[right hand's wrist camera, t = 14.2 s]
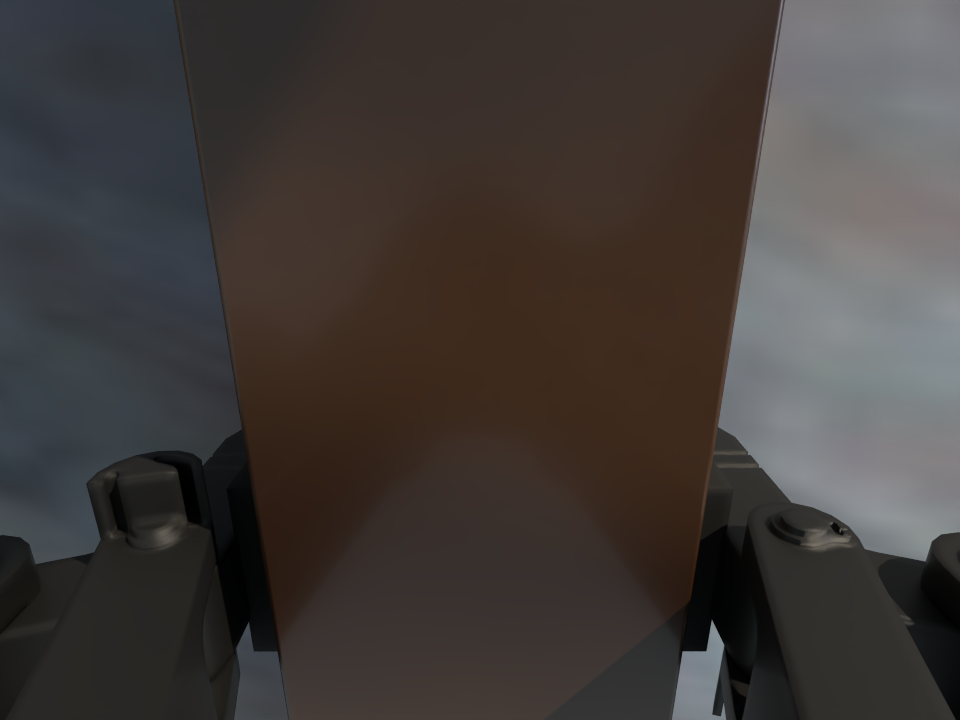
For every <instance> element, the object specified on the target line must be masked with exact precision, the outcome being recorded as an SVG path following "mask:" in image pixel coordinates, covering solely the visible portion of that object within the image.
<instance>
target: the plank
mask: <svg viewBox="0 0 960 720" xmlns="http://www.w3.org/2000/svg"><path fill="white" fill-rule="evenodd" d="M784 2H785V0H174V7H175V13H176V19H177V25H178V32H179V38H180V44H181V50H182V57H183V63H184V69H185V75H186V82H187V88H188V94H189V100H190V107H191V113H192V119H193V125H194V132H195V138H196V144H197V150H198V157H199V163H200V169H201V175H202V182H203V188H204V194H205V200H206V207H207V213H208V219H209V225H210V232H211V238H212V244H213V250H214V257H215V263H216V269H217V275H218V281H219V288H220V294H221V300H222V306H223V313H224V319H225V325H226V331H227V338H228V344H229V350H230V356H231V363H232V369H233V375H234V381H235V388H236V394H237V400H238V406H239V413H240V419H241V425H242V431H243V438H244V444H245V450H246V456H247V463H248V469H249V475H250V481H251V488H252V494H253V500H254V506H255V513H256V519H257V525H258V531H259V538H260V544H261V550H262V556H263V563H264V569H265V575H266V581H267V588H268V594H269V600H270V606H271V613H272V619H273V625H274V631H275V638H276V644H277V650H278V656H279V663H280V669H281V675H282V681H283V688H284V694H285V700H286V706H287V713H288V719H289V720H672V714H673V708H674V702H675V695H676V689H677V683H678V676H679V670H680V664H681V657H682V651H683V645H684V638H685V632H686V625H687V619H688V613H689V606H690V600H691V594H692V587H693V581H694V575H695V568H696V562H697V555H698V549H699V543H700V536H701V530H702V524H703V517H704V511H705V505H706V498H707V492H708V486H709V479H710V473H711V466H712V460H713V454H714V447H715V441H716V435H717V428H718V422H719V416H720V409H721V403H722V397H723V390H724V384H725V377H726V371H727V365H728V358H729V352H730V346H731V339H732V333H733V327H734V320H735V314H736V308H737V301H738V295H739V288H740V282H741V276H742V269H743V263H744V257H745V250H746V244H747V238H748V231H749V225H750V218H751V212H752V206H753V199H754V193H755V187H756V180H757V174H758V168H759V161H760V155H761V149H762V142H763V136H764V129H765V123H766V117H767V110H768V104H769V98H770V91H771V85H772V79H773V72H774V66H775V60H776V53H777V47H778V40H779V34H780V28H781V21H782V15H783V9H784Z"/></svg>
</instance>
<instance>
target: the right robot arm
mask: <svg viewBox="0 0 960 720" xmlns="http://www.w3.org/2000/svg"><path fill="white" fill-rule="evenodd" d="M86 484H87V488H88V492H89V496H90V499H91V503H92V507H93V511H94V514H95V518H96V522H97V526H98V530H99V533H100V537H101V541H100V543H99V544H98V546H97V548H96V550H95V552H94V553H90V554H86V555H81V556H76V557H71V558H66V559H61V560H56V561H50V562H45V563H40V564H35V561H34V558H33V555H32V552H31V548H30V545H29V544H28V543H27V542H25V541H24V540H23V539H21V538H20V537H13V536H5V535H0V720H234V715H235V708H236V701H237V694H238V686H239V679H240V669H239V661H238V656H237V650H236V647H237V645H238V643H239V641H240V639H241V637H242V635H243V633H244V630H245V628H246V626H247V624H248V622H249V625H250V631H251V637H252V643H253V648H254V651H278V650H277V644H276V638H275V631H274V625H273V619H272V613H271V606H270V600H269V594H268V588H267V581H266V575H265V569H264V563H263V556H262V550H261V544H260V538H259V531H258V525H257V519H256V513H255V506H254V500H253V494H252V488H251V481H250V475H249V469H248V463H247V456H246V450H245V444H244V438H243V431H242V430H240V431H239V432H237V433H235V434H234V435H232V436H230V437H229V438H227V439H226V440H225V441H224V442H223V443H222V444H221V445H220V447H219V448H218V449H217V450H216V451H215V452H214V454H213V457H210V458H209V459H208V461H207V462H206V463H205V464H204V465H202V460H201V459H199V458H198V457H197V456H195V455H194V454H192V453H187V452H182V451H157V452H151V453H146V454H141V455H136V456H133V457H130V458H127V459H125V460H122V461H119V462H116V463H114V464H112V465H110V466H108V467H107V468H105V469H103V470H101V471H99V472H98V473H97V474H96V475H95V476H93V477H92V478H91V479H90V480H89V481H88V482H87V483H86ZM712 620H713V622H714V625H715V627H716V629H717V631H718V633H719V635H720V637H721V639H722V641H723V643H724V650H723V656H722V661H721V667H720V672H719V678H718V683H717V689H716V694H715V700H714V706H713V714H712V715H717V716H721V713H722V708H723V703H724V707H725V714H726V720H960V533H959V532H957V533H950V534H942V535H940V536H939V537H937V538H936V539H935V540H933V541H932V543H931V547H930V550H929V553H928V556H927V559H926V562H925V561H919V560H914V559H909V558H904V557H899V556H893V555H888V554H883V553H878V552H873V551H869V550H865V549H864V547H863V545H862V543H861V542H860V540H859V538H858V537H857V536H856V535H855V533H854V532H853V531H852V530H851V529H850V528H849V527H848V526H847V525H845V524H844V523H842V522H841V521H839V520H838V519H836V518H835V517H833V516H832V515H829V514H827V513H824V512H822V511H819V510H817V509H815V508H812V507H808V506H803V505H799V504H794V503H791V502H790V501H789V499H788V498H787V497H786V496H785V495H784V494H783V492H782V491H781V490H780V489H779V488H778V487H777V485H776V484H775V483H774V482H773V481H772V480H771V478H770V477H769V476H768V475H767V474H766V473H765V471H764V470H763V469H762V468H759V464H758V463H757V462H756V461H755V460H754V459H753V458H752V456H751V455H748V452H747V451H746V449H745V448H744V447H743V446H742V445H741V444H740V442H739V441H738V440H737V439H736V438H735V437H734V436H732V435H731V434H729V433H727V432H725V431H724V430H722V429H720V428H719V427H718V428H717V435H716V441H715V447H714V454H713V460H712V466H711V473H710V479H709V486H708V492H707V498H706V505H705V511H704V517H703V524H702V530H701V536H700V543H699V549H698V555H697V562H696V568H695V575H694V581H693V587H692V594H691V600H690V606H689V613H688V619H687V625H686V632H685V638H684V645H683V651H706V650H707V644H708V639H709V633H710V627H711V621H712Z"/></svg>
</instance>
